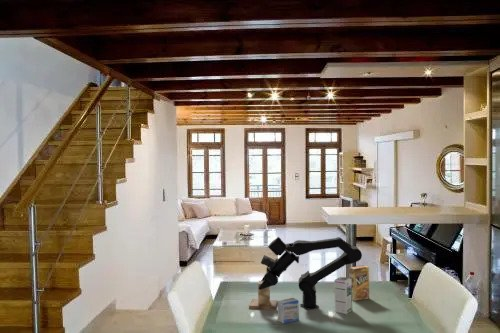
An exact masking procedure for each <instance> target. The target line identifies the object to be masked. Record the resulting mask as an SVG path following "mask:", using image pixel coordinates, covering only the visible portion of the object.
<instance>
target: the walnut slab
mask: <svg viewBox="0 0 500 333" xmlns="http://www.w3.org/2000/svg"><path fill="white" fill-rule="evenodd" d="M277 307H278V299H270V304H269V305H258V298H256V299H255V298H252V299H251V300H250V302H249V305H248V309H250V310H251V309H252V310H253V309H254V310H269V311H270V310H271V311H272V310H274V311H276V309H277Z"/></svg>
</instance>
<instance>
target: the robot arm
mask: <svg viewBox="0 0 500 333" xmlns="http://www.w3.org/2000/svg"><path fill="white" fill-rule="evenodd" d="M267 248H268V249H269V250H270V251H272V253H273V254H274V255H275V256H279V258H276V259H274V258H271V257H270V256H267V255H263V257H262V259H261V260H260V264H261V265H264V266H266V272H265V274H264V276H263V277H262V279H261V280H260V281H263V282H262V284H261V285H260V286H259V290H261V289H264V288H267V287H270V288H271V287H272V286H277V284H278V282H279V278H280V277H281V275H282V274H283V273H284V272H286V271H287V269H288V268H289V267H290V266H291V265H292V264H293V263H294V262H296V264H300V256H302V255H306V254H308V253H310V252H312V251H320V250H328V249H335V248H336V249H337V248H339V249H340V250H341V251H342V254H341V255H340V256H338V257H337V258H335V259H334V260H332V261H330V262H329V263H327V264H325V265H323V266H322V267H320V268H319V269H317V270H316V271H314V272H310V270H307V271H306V272H304V273H303V274H301V275H300V277H299V278H298V283H297V284H298V288H299V290H300V291H301V292H302V303H300V304H299V306H301V307H302V308H303V309H306V310H312V309H317V308H320V306H319V305H318V304H317V289H316V285H317V284H318V282H320V281H322V280H323V279H325V278H326V277H327V276H329V275H331V274H333V273H334V272H336V271H338V270H339V269H341V268H343V267H344V266H346V265H347V266H348V265H351V264H354V263H358V262H360V261H361V260H362V257H363V253H362V251H361V250H360V249H359V247H358V246H356V245H351V244H350V243H348V242H347V241H346V240H345V239H343V238H342V237H340V236H337V237H335V238H334V237H333V238H326V239H319V240H312V241H310V240H300V239H299V240H294V241H293V242H291V243H285V242H284V241H283V240H282V238H280V236H277V237H276V238H275V239H273V240H272V241H271V242H270V243H269V244H268V245H267Z"/></svg>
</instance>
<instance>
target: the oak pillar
mask: <svg viewBox="0 0 500 333" xmlns="http://www.w3.org/2000/svg"><path fill="white" fill-rule="evenodd" d="M262 282H263V281H261V280H258V283H257V299H258V305H269V304H270V300H271V290H270V289H271V286H270V287H267V288H264V289H261V290H259V286H260V285H261V284H262Z"/></svg>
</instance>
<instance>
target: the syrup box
mask: <svg viewBox="0 0 500 333" xmlns="http://www.w3.org/2000/svg"><path fill="white" fill-rule="evenodd" d="M333 280H334V281H333V283H334V309H335V310H334V311H335V313H339V314H345V315H348V314H349V313H351V312H352V311H353V300H352V280H351V278H349V277H345V276H339V277H337V278H336V279H333Z"/></svg>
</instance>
